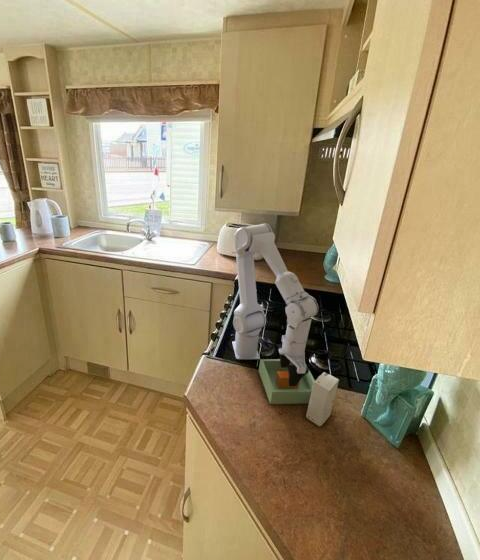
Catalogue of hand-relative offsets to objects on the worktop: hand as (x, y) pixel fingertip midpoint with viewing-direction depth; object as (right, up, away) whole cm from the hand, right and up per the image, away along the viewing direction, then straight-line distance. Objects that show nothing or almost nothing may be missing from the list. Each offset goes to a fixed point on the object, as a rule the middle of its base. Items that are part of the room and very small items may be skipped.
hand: (288, 375), depth 92 cm
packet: (0, -3, +1) cm, 3 cm away
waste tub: (0, -4, +2) cm, 4 cm away
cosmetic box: (+5, -8, -8) cm, 13 cm away
